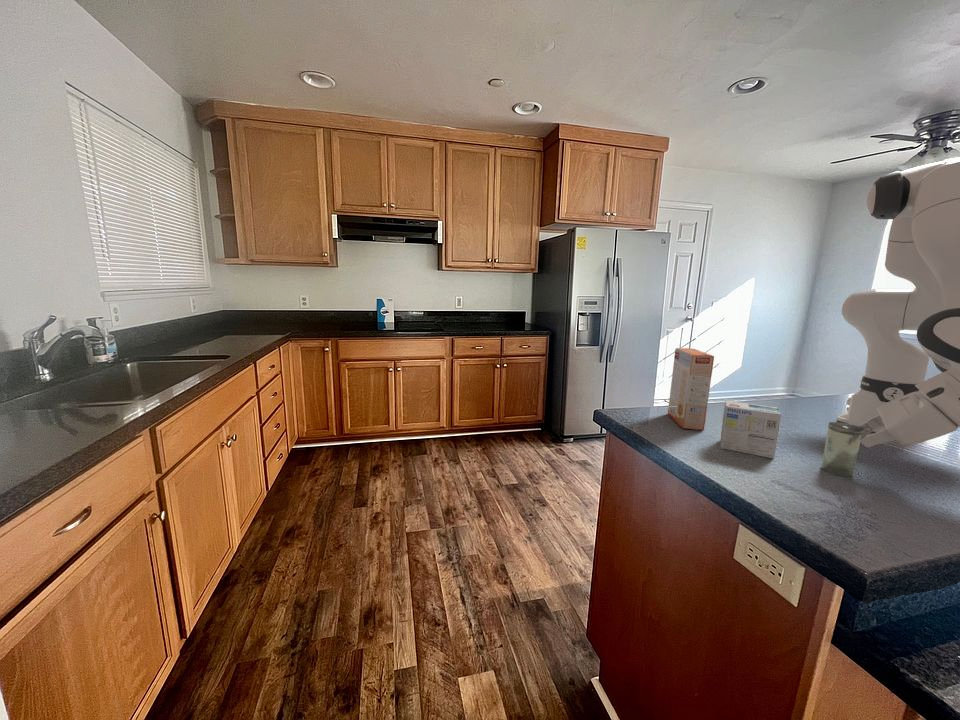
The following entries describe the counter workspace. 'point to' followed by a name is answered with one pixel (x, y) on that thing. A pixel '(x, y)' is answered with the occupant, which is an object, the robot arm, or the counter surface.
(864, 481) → the counter surface
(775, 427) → the light bulb box
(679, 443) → the counter surface
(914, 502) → the counter surface
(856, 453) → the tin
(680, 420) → the cracker box
